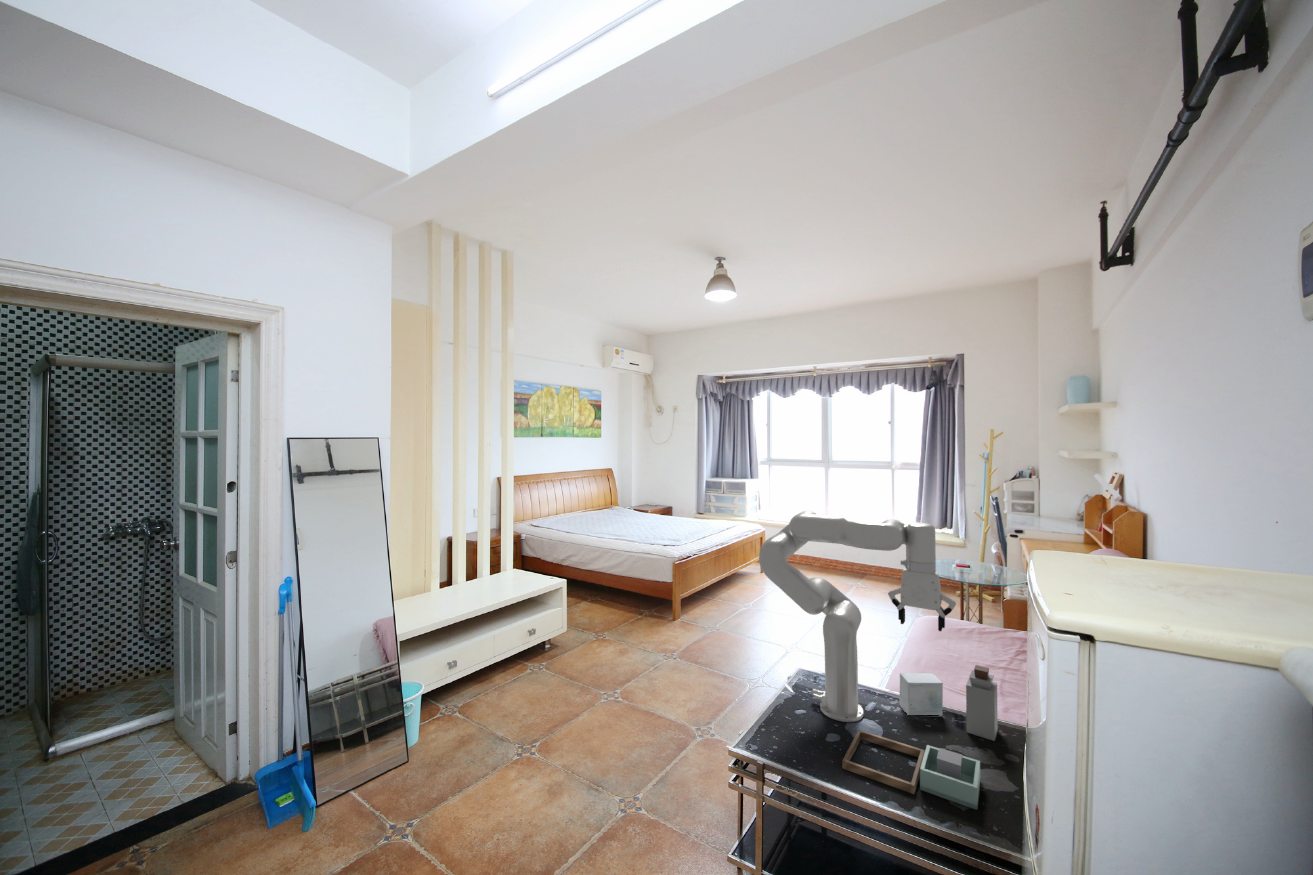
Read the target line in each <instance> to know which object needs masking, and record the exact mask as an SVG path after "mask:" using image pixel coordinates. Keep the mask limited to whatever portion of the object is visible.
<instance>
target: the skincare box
mask: <svg viewBox="0 0 1313 875" xmlns="http://www.w3.org/2000/svg"><path fill="white" fill-rule="evenodd" d="M943 685H944V683H943V681H942V680H940V679H939V677H937V676H936V675H935V674H934V673H932V672H929V673H927V672H925V673H924V672H918V673H917V672H899V707H901V709H902V711H904V713H905V712H906V713H907V714H906V713H905V714H906V715H907V716H908V715H939V716H938V717H943V707H944V706H943V705H944V704H943V697H944V695H943V692H944V690H943V689H944V686H943Z"/></svg>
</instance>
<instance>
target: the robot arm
mask: <svg viewBox="0 0 1313 875" xmlns="http://www.w3.org/2000/svg"><path fill="white" fill-rule="evenodd" d="M808 542H814V543H815V542H816V543H827V544H837V545H843V546H847V547H853V548H856V549H862V550H863V549H864V550H870V551H871V550H873V551H883V552H885V551H887V552H890V551H895V550H897V549H899V548H901V546H902V545H905V559H903V560H901V559H900V566H904V567H905V568H904V569H903V570H902V574H901V579H900V580H901V581H900V582H901V583H900V587H899V588H896V589H893V590H890V591H888V593H887V594H888V597H889V599H890V600H891V603H892V604H893V605H894V606H895V607H896V609H897V611H898V612H897V613H898V617H897V618H898V620H899V621H900V625H904V624H905V622H906V608H905V606H907V607H912V608H916V609H922V610H923V609H924V610H928V611H929V610H930V611H936V612H937V614H938V617H937V619H938V620H937V625H938V626H937V627H938V628H937V630H938V632H942V631H943V629H945V627H946V616H948V615H949V614H950V613H951V612H952V611H953V610H954V608H955V607H956V604H957V602H956V601H955V600H953V599H951V598H950V597H949V596H947V595H945V594H943V593H942V585H941V579H940V575H939V572H937V570H936V569H937V568H936V567H937V566H936V564H937V562H936V559H937V558H936V529H935V526H934V525H933V524H930V523H927V522H908V521H903V520H898V519H886V520H884V521H882V523H880V524H879V523H865V522H857V521H854V520H851V519H849V518H847V517H845V516H842V515H829V514H826V515H825V514H817V513H816V512H814V511H811V510H805V511H801V512H799V513H797V514H796V515H794V516H793V517H792V518H791V519H790V521H789V523H788V524H787V525H786V526H785V527H784V528H782V529H781V530H780V531H779V532H777V533H775V534H774V535H772V536H771V537H769V538H767V539H766V540H765V541H764V542H763V543H762V545H761V546H760V548H759V554H758V560H759V565H760V569H761V571H762V572H763V573H764V575H765V576H766V578H768V579H769V580H770V581H771V582H772V583H773V584H774V585H775V586H776V587H778V588H779V589H780V590H781V591H782V592H783V593H785V595H786V596H788V598H789V599H791V600H792V601H793V602H794V603H795V604H796V605H797V606H799V608H800V609H801V610H802V611H804V612H805V613H807V614H809V615H813V616H815V615H818V614H819V615H820V614H821V613H823V614H824V615H825V617H824V620H823V623H822V624H823V625H822V634H823V642H824V690H819V689H818V688H817V689H816V688H812V690H811V694H812V696H813V700H817V701H820V704H819V707H820V711H821V712H822V714H824V715H825V716H826V717H827V718H830V719H832V720H835V721H839V722H842V723H853V722H858V721H860V720H861V719H862V718H863V717H864V708H863V707H862V706H861V705H860V704H859V680H858V679H859V674H858V672H859V669H858V666H859V665H858V644H857V635H858V634H857V633H858V630H859V627H860V625H861V622H862V613H861V611H860V609H859V607H858V605H856V603H854V602H853V601H852V600H851V599H850V598H848V597H847V596H846V595H845V594H844V593H843V592H842V591H840V589H838V588H837V587H836V586H834V585H833V584H832V583H831V582H830V581H829V580H827V579H824V578H822V577H818V576H817V577H812V578H809V577H807V576H806V575H805V574H803V573H802V571H800V570H799V569H798V568H796V567H795V566H793V565H792V564H790V563H789V562H788V561H787V559H789V558H790V557H791V556H793V555H794V554H795V553H796V552H797V551H799V550H800V549H801V548H802V547H804V546H805V545H806V544H807V543H808ZM899 594H900V601H899V600H898V598H896V595H899ZM942 601H943V602H944V603H946V604H947V605H948V606H947V607H946V608H943V607H942Z"/></svg>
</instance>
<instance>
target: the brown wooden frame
mask: <svg viewBox="0 0 1313 875" xmlns="http://www.w3.org/2000/svg"><path fill="white" fill-rule="evenodd" d="M861 740H862V741H866V742H869V743H872V744H876V745H879V746H881V747H885V748H888V749H890V750H893V751H897V752H900V753H904V754H907V755H910V756H912V757H915V758H918V759H917V762H916V765H915V769H914V771H913V776H912V779H911V781H907V780H904V779H902V778H899V777H895V776H893V775H890V774H887V773H885V772H881V771H879V770H875V769H873V768H870V767H867V766H865V765H861V764H859V763H856V762H854V761H851V760H852V757H853V756H854V754H855V752H856V750H857V748H858V746H859V744H860V742H861ZM925 750H926V749H921V748H919V747H916V746H912V745H909V744H906V743H902V742H899V741H897V740H894V739H891V738H887V737H884V736H881V735H878V734H874V733H871V732H868V731H865V730H861V729H858V730H857V732H856V734H855V736H854V738H853V740H852V741H851V743H850V745H849V747H848V749H847V751H846V753H845V755H844V757H843V759H842V762H841V763H842V764H841V765H842V766H841V767H842V769H844V770H846V771H849V772H852V773H854V774H858V775H860V776H862V777H866V778H868V779H871V780H873V781H876V782H879V783H882V784H884V785H888V786H891V787H893V788H896V789H898V790H901V791H904V792H907V793H910V794H912V795H915V793H916V789H917V786H918V782H919V781H920V767H921V764H922V760H923V757H924V753H925Z"/></svg>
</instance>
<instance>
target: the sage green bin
mask: <svg viewBox="0 0 1313 875" xmlns="http://www.w3.org/2000/svg"><path fill="white" fill-rule="evenodd" d="M939 748H940V747H939ZM939 748H938V747H936V746H932V745H929V744H926V746H925V749H924V750H925V753H924V757H923V760H922V764H921V767H920V776H919V786H920V787H919V790H920V791H921V792H922V791H923V792H926V793H928V794H931V795H934V796H936V797H939V798H943V799H946V800H947V801H951V802H954V803H955V804H959V805H962V806H965V807H968V808H971V809H973V810H976V811H978V808H979V807H978V806H979V797H980V788H981V760H978V759H975V758H972V757H968V756H964V755H962V762H963V780H962V781H961V780H958V779H955V778H952V777H949V776H946V775H943V774H940V773H937V755H938V750H939Z"/></svg>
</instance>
